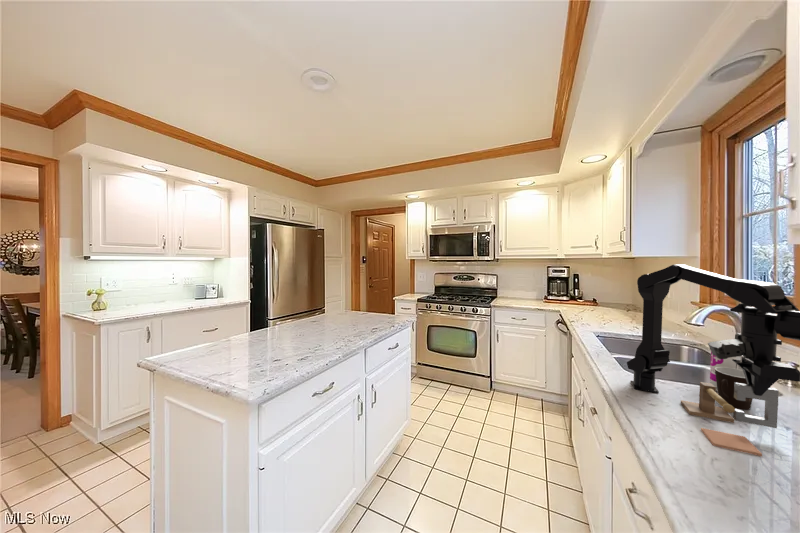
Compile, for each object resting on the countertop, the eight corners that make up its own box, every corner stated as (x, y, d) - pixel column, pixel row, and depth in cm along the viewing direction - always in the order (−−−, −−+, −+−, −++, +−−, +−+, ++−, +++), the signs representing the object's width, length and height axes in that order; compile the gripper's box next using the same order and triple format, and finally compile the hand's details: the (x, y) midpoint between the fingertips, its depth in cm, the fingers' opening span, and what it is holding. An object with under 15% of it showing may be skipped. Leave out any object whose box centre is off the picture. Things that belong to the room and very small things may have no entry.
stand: (680, 403, 90) (681, 376, 90) (721, 410, 86) (722, 382, 85) (703, 431, 76) (705, 399, 75) (754, 442, 71) (755, 408, 71)
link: (732, 417, 76) (734, 382, 75) (772, 425, 72) (774, 388, 72) (736, 420, 75) (737, 384, 74) (776, 428, 71) (778, 390, 71)
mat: (700, 429, 77) (701, 427, 77) (744, 438, 73) (744, 436, 73) (713, 445, 70) (713, 443, 70) (761, 456, 67) (762, 453, 67)
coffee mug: (734, 397, 93) (736, 367, 92) (766, 412, 84) (767, 379, 84) (695, 396, 94) (696, 366, 94) (721, 411, 85) (723, 377, 85)
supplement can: (716, 393, 96) (718, 348, 95) (704, 383, 103) (706, 341, 103) (752, 398, 92) (754, 352, 92) (737, 388, 100) (739, 345, 99)
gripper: (698, 321, 84) (696, 373, 85) (732, 338, 68) (729, 403, 69) (754, 325, 79) (751, 381, 80) (805, 345, 63) (801, 415, 64)
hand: (755, 393), depth 73 cm, fingers closed on link, 1 cm apart
